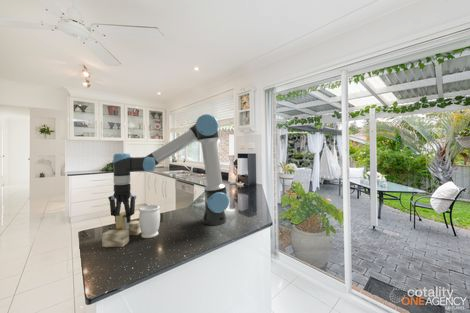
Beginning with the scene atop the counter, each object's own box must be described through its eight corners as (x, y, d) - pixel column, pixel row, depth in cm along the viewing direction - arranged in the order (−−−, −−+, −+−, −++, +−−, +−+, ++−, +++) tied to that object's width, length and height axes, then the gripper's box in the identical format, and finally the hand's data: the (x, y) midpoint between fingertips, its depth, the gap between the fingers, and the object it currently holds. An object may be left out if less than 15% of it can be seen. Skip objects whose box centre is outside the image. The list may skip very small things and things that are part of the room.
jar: (152, 240, 102) (152, 210, 101) (134, 238, 104) (134, 209, 103) (164, 231, 112) (163, 205, 112) (147, 230, 114) (147, 204, 114)
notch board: (141, 231, 113) (141, 220, 113) (123, 246, 95) (122, 233, 95) (123, 231, 113) (123, 220, 113) (102, 246, 95) (101, 234, 95)
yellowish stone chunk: (129, 227, 107) (129, 212, 107) (122, 231, 101) (122, 215, 101) (122, 227, 107) (122, 212, 107) (116, 231, 101) (115, 215, 101)
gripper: (141, 182, 107) (142, 226, 108) (110, 182, 107) (111, 226, 108) (134, 184, 100) (135, 231, 100) (101, 184, 100) (102, 231, 100)
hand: (123, 228), depth 104 cm, fingers closed on yellowish stone chunk, 3 cm apart
